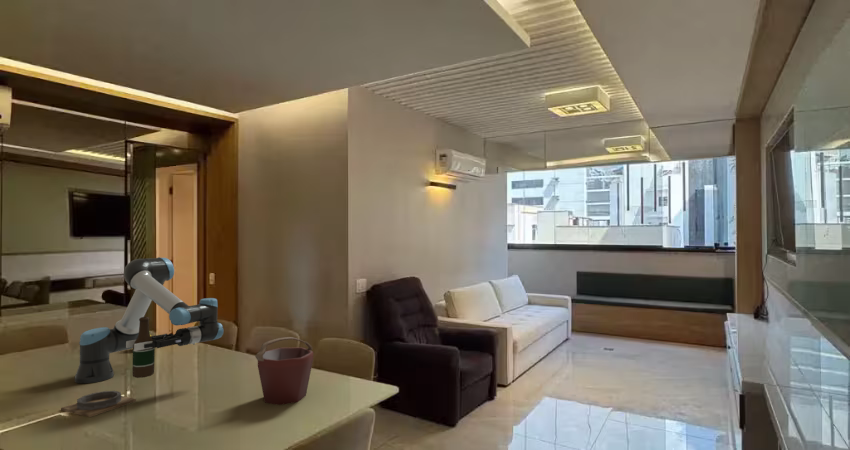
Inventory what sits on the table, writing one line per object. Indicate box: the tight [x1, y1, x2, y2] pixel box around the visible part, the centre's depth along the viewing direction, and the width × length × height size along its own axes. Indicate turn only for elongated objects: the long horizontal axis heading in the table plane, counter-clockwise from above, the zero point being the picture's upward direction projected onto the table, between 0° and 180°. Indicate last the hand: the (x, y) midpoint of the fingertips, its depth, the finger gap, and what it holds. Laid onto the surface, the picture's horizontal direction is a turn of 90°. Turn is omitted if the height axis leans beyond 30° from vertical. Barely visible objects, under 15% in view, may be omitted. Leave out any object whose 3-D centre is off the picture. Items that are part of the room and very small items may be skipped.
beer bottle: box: [131, 316, 156, 379], centre depth 190 cm, size 8×8×24 cm
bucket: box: [254, 336, 314, 406], centre depth 194 cm, size 24×22×25 cm
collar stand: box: [60, 390, 137, 418], centre depth 185 cm, size 18×18×4 cm
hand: (130, 346), depth 186 cm, fingers closed on beer bottle, 7 cm apart
